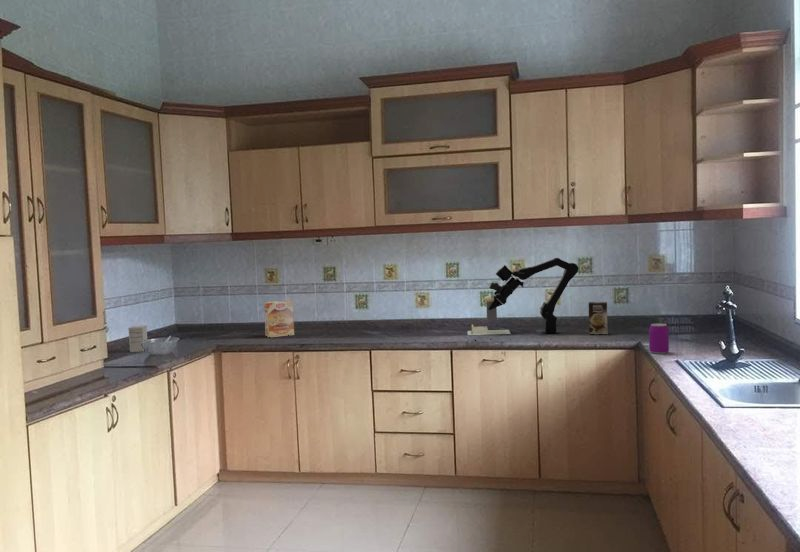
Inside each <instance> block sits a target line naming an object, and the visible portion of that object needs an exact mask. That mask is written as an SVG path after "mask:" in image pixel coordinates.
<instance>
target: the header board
mask: <svg viewBox="0 0 800 552" xmlns="http://www.w3.org/2000/svg"><path fill="white" fill-rule="evenodd" d="M509 334H510V335H511V332H510V330H509V329H495V330H494V329H492V330H491V329H490V330H489V329H488V326H474V324H471V330H467V335H468V336H477V335H478V336H479V335H480V336H481V335H485V336H486V335H509Z"/></svg>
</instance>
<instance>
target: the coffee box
mask: <svg viewBox="0 0 800 552" xmlns="http://www.w3.org/2000/svg"><path fill="white" fill-rule="evenodd" d="M589 334H607V335H608V302H607V301H589V302H588V335H589Z"/></svg>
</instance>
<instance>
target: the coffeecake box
mask: <svg viewBox="0 0 800 552" xmlns="http://www.w3.org/2000/svg"><path fill="white" fill-rule="evenodd" d="M293 302H294V301H293V300H290V299H288V300H276V301H266V302H263V306H264V307H263V310H264V311H263V312H264V329H265V330H264V333H265V337H266V336H267V338H269V337H271V338H278V337H288V335H289V336H295V323H294V321H295V320H294V303H293Z"/></svg>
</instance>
